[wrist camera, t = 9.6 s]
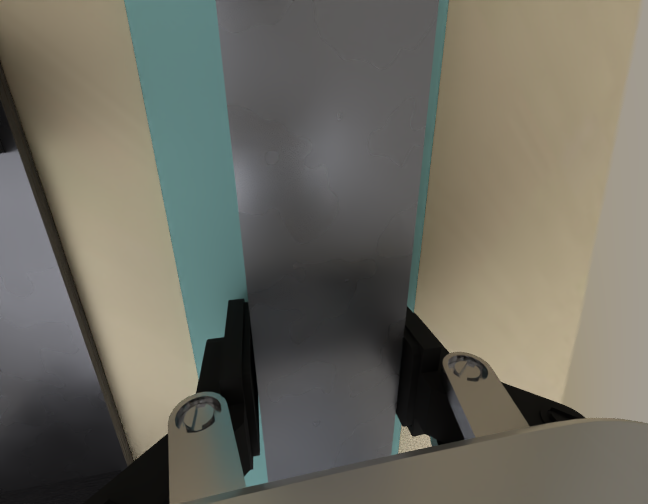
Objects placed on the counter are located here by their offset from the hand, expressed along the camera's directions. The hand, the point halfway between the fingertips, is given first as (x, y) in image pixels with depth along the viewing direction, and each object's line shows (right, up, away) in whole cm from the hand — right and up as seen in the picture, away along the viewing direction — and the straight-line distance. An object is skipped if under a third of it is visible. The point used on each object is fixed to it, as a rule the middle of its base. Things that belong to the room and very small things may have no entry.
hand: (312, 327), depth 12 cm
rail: (0, 0, +1) cm, 1 cm away
